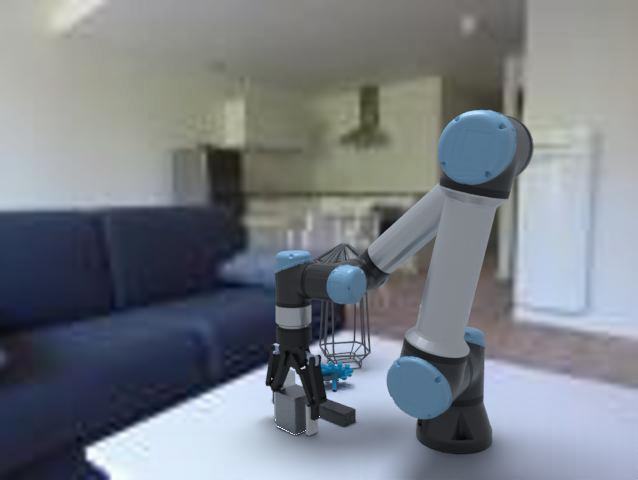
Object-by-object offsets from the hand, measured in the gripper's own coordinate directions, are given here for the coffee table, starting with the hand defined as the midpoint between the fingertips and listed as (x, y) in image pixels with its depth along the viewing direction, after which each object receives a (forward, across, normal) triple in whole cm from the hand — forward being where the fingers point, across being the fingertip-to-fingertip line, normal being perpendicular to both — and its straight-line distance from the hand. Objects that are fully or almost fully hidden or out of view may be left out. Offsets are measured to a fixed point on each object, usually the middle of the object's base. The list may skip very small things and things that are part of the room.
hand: (295, 426), depth 123 cm
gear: (+1, +11, -23) cm, 25 cm away
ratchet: (0, +4, -9) cm, 10 cm away
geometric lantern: (0, +19, -37) cm, 42 cm away
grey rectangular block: (0, 0, 0) cm, 0 cm away
